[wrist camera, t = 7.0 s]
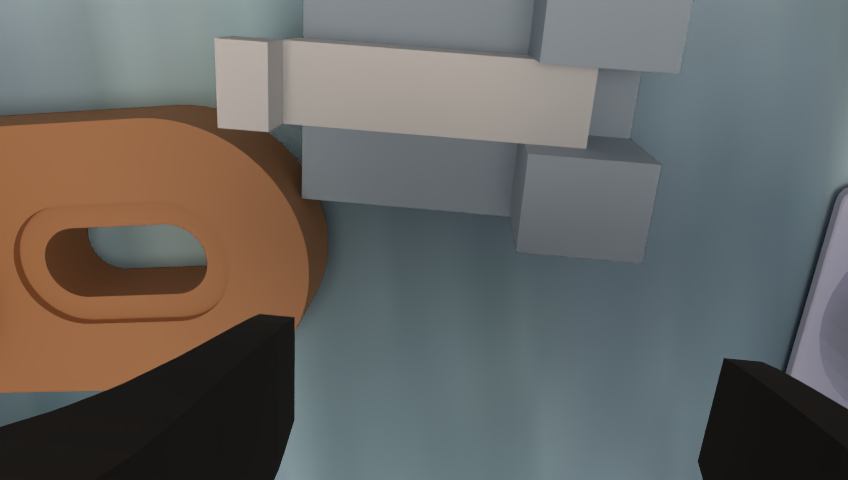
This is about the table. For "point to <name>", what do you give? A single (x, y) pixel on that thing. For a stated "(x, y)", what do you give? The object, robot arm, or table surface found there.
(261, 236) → the bracket
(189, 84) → the table surface
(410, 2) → the vise
